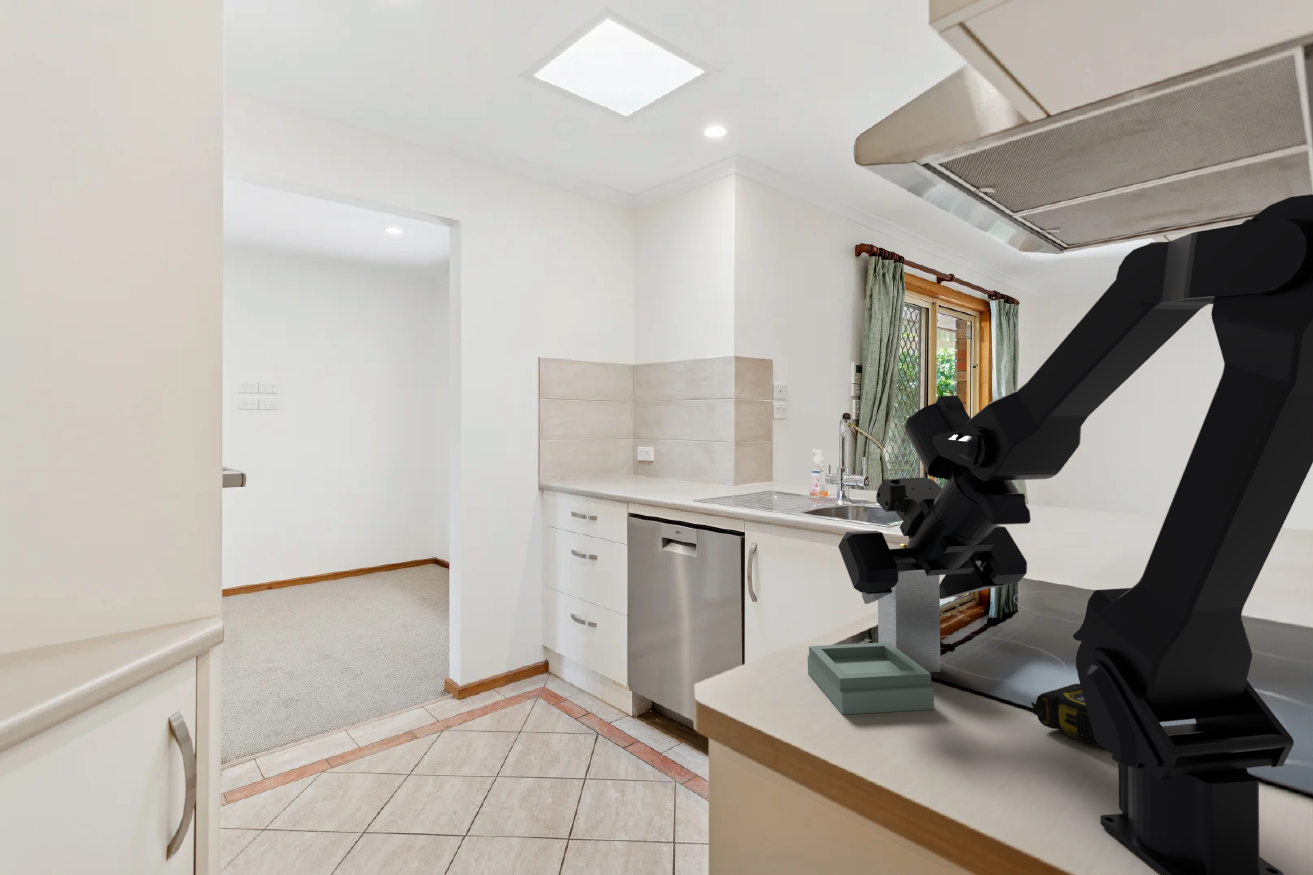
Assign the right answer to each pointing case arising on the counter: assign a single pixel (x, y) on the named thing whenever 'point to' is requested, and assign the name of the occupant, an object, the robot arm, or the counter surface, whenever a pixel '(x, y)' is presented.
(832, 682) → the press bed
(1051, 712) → the tape measure
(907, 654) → the housing
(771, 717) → the counter surface
